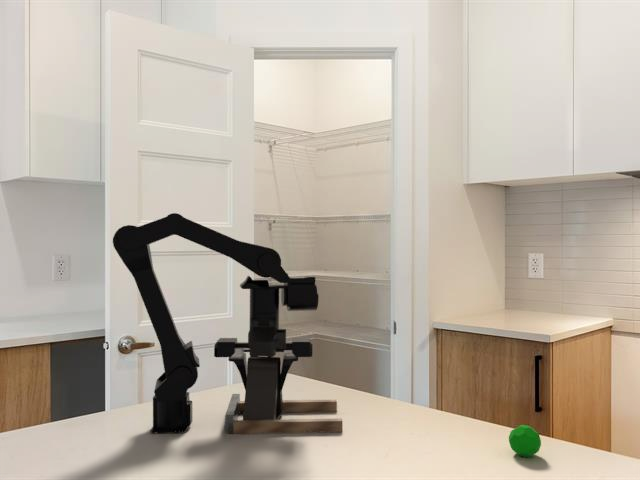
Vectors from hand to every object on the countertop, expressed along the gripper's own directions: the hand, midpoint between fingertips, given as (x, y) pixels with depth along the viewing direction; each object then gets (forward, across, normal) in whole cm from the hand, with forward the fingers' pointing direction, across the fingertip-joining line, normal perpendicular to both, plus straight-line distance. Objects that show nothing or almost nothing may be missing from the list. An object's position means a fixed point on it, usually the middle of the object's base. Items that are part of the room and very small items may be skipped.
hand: (263, 391), depth 114 cm
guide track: (+6, +4, 0) cm, 7 cm away
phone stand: (+6, 0, 0) cm, 6 cm away
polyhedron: (+6, +44, -20) cm, 48 cm away
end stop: (+6, -6, 0) cm, 8 cm away
